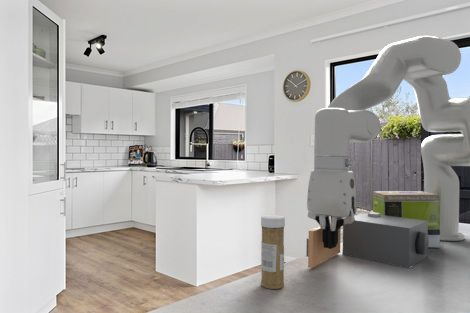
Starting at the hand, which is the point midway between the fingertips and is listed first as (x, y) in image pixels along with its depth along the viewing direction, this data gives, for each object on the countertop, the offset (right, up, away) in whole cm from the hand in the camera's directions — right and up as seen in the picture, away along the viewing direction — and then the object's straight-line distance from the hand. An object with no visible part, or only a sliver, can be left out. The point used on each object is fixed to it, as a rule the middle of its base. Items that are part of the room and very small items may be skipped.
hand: (330, 247), depth 81 cm
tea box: (+27, -5, +23) cm, 36 cm away
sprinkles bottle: (-14, -5, -11) cm, 18 cm away
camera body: (+16, -5, +11) cm, 20 cm away
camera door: (0, -4, +6) cm, 7 cm away
